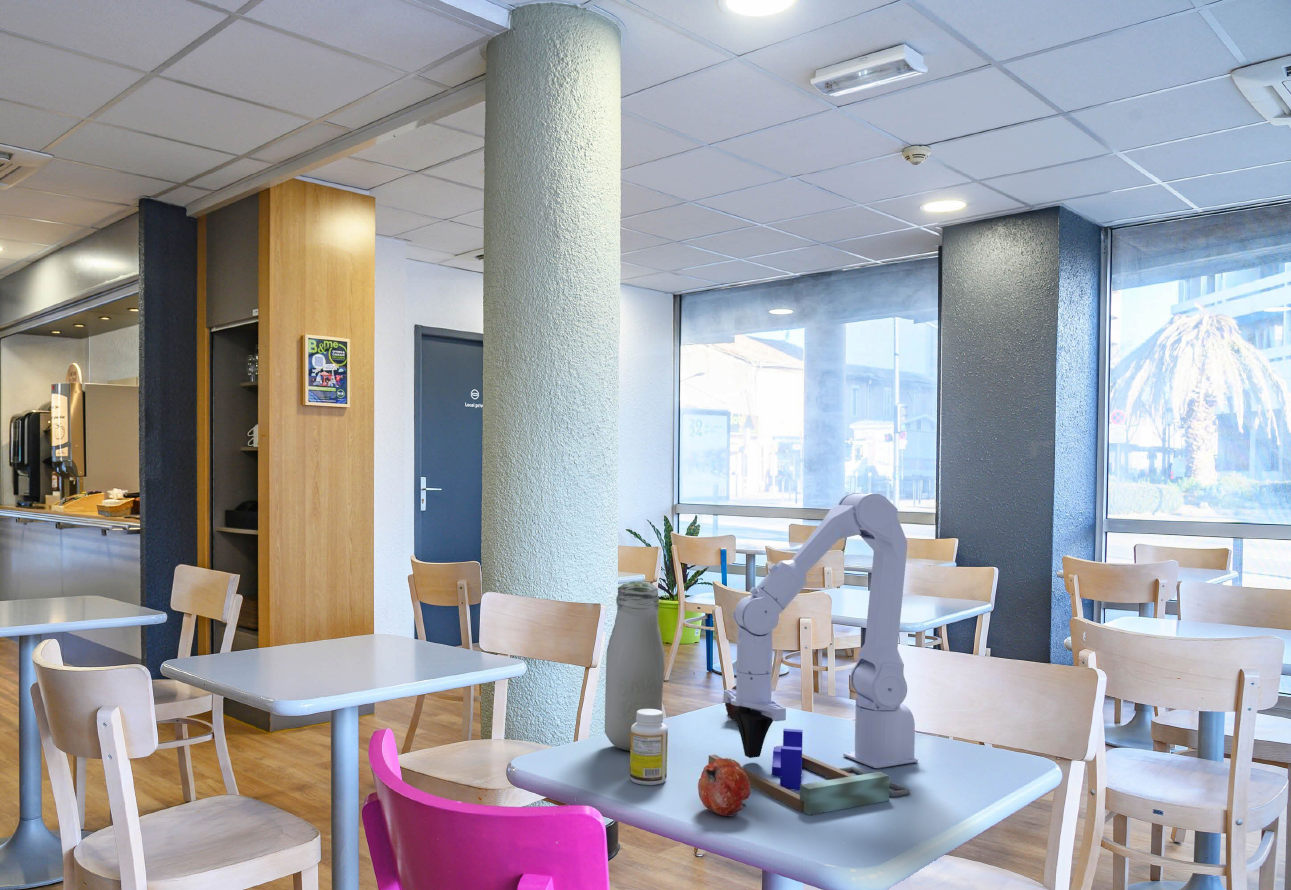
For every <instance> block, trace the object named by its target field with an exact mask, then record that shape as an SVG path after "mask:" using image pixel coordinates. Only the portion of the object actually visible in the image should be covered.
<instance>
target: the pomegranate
mask: <svg viewBox="0 0 1291 890" xmlns="http://www.w3.org/2000/svg"><path fill="white" fill-rule="evenodd" d="M722 758H723V757H722ZM697 792H698V797H699V800H700V801H701V802H702V804H703V806H704V807H705V808H706V809H707V810H709V811H711V812H714V813H715V814H718V815H721V816H724V817H732V816H734V815H736V814H737V813H739V812H740V811H741V810H742V808H743V807H744V806H745V807H746V805H747V804H746V803H744V802H743V801H747V800H748V799H749V797H750V794H751V786H750V783H749V779H748V776H747V775H746V773H745V771H744V770H743V767H742V766H741V764H740V763H739V762H738V761H736V760H735V759H732V758H728V757H726V758H725V757H724V758H723V759H717V760H715V762H714V763H712V764H706V765H705V766H704V767H703V770H702V771H701V775H700V778H699V779H698V783H697Z"/></svg>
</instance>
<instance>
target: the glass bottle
mask: <svg viewBox="0 0 1291 890" xmlns="http://www.w3.org/2000/svg"><path fill="white" fill-rule="evenodd" d="M615 600H616V601H615V603H616V606H617V610H616V615H615V619H614V625H613V628H612V630H611V633H610V634H611V635H610V636H609V640H608V644H607V648H606V657H605V658H606V659H605V662H606V663H605V695H604V697H605V698H604V699H605V700H604V733H605V735H606V737H607V739H608V741H609V742H610V743H611V744H612V745H613V746H614V747H616V748H617V749H621V750H623V751H631V726H632V725H633V724H634V723H636V720H637V719H636V715H637V711H638V710H641V709H656V710H660V711H662V712H663V693H664V692H663V691H664V690H663V689H664V676H665V659H666V658H665V651H664V644H663V640H662V635H661V628H660V626H659V618H658V617H659V614H658V611H659V604H660V603H659V601H660V597H659V588H657V587H656V585H655V584H653V583H651V582H650V581H638V580H637V581H636V580H634V581H628V582H624V583H622V584H621V585H620V586H618V587H617V595H616V598H615Z"/></svg>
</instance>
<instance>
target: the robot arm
mask: <svg viewBox="0 0 1291 890" xmlns="http://www.w3.org/2000/svg"><path fill="white" fill-rule="evenodd" d="M855 536H859V537H861V539H862V540H864V542H865V543H866V544H867V545H868V546H869V547H870V548H871V549H872V551H873V556H872V566H871V567H872V568H871V574H870V575H871V577H870V588H869V594H868V595H869V596H868V607H867V609H868V610H867V616H866V618H867V619H866V627H865V639H864V643H863V645H862V647H861V648H860V649H859V650H858V653H857V658H856V663H855V664H854V666H853V668H852V670H851V672H850V676H849V677H850V679H849V681H850V685H851V686H850V687H851V688H852V690H853V691H854V692H855V693H856V698H855V711H854V712H855V713H854V714H855V715H854V716H855V717H854V718H855V719H854V720H855V723H854V727H855V728H854V751H853V750H852V751H847V752H843V754H842V755H843V757H845V758H848V759H850V760H853V761H856V762H858V763H861V764H864V765H866V766H869V767H872V768H874V769H881V768H887V767H894V766H899V765H906V764H913V763H918V762H919V759H918V758H917V757H915V737H916V736H915V735H916V734H915V733H916V732H915V731H916V729H915V728H916V727H915V726H916V725H915V724H916V723H915V717H914V715H913V712H912V711H911V709H910V708H909V707H908V706H907V705H906V704H903V702H904V700H906V698H907V694H908V685H907V681H906V679H905V674H904V668H905V666H904V665H905V664H904V661H903V659H902V657H901V655H900V652H899V649H898V647H899V636H900V627H901V615H902V607H903V605H902V604H903V596H904V595H903V594H904V586H905V585H904V584H905V574H906V573H905V572H906V566H907V565H906V564H907V552H908V540H907V538H906V535H905V532H904V530H903V528H902V525H901V522H900V520H899V518H898V508H897V506H895V505H894V504H893V503H892V502H891V501H890V500H889V499H888V498H887V497H886V496H884V494H881V493H876V492H872V493H858V492H851V493H848V494H845V495H844V496H843V497H842V498H841V499H840V500H839V501H838V503H837V504H835V505H834V506H833V507H832V508H830V510H829V511H828V512H827V514H826V515H825V517H824V518H823V519H822V521H821V522H820V523H819V525H818V526H817V527H816V528H815V529H814V530H813V532H812V533H811V534H810V535H809V537H807V539H806V540H805V542H804V543H803V544H802V545H801V547H800V548H799V549H798V550H797V551H796V553H795V554H794V555H793V557H792V558H790V559H789V560H787V559H786V560H779V561H778V562H777V564H775V563H772V564H770V565H769V567H768V568H767V569H768V571H769V572H768V574H766V576H765V577H764V578H763V579H762V580H761V581H760V583H759V584H757V586H756V587H754V586H752V587H751V588H750V589H749V593H750V594H751V595H748V596H745V597H743V598H742V599H740V600H739V601H738V602H737V603H736V606H735V610H734V611H732V615H733V621H734V622H735V624H736V625H737V642H736V679H735V680H736V684H735V686H736V690H734V689H732V688H731V689H724V690H723V702H724V703H725V702H726V703H731V704H732V705H735V706H740V709H739V710H737V711H733V712H732V716H733V718H734V720H735V721H734V720H733V721H734V722H735V724H736V727H737V729H738V731H739V735H740V738H741V742H742V743H741V744H742V749H743V752H744V756H745V757H747V758H749V759H752V758H753V759H754V758H759V757H761V753H762V749H763V745H764V742H765V739H766V736H767V733H768V731H769V729H770V726H772V724H773V722H781V721H783V722H784V721H786V719H787V708H786V707H784V706H782V705H780V704H779V703H778V702H777V701H775V700H774V699H773V696H772V693H773V692H772V690H773V688H772V686H773V685H772V684H773V683H772V682H773V630H774V629H776V628H777V626H778V624H779V620H780V614H782V612H784V611H785V609H786V608H787V607H788V606H789V605H790V603H792V602H793V600H794V599H795V598H796V597H797V596H798V594H799V593H801V591H802V590H803V589H804V588H805V586H806V585H807V574H808V572H809V571H810V570H811V569H812V568H813V567H814V566H815V565H816V564H817V563H818V562H819V561H820V560H822V558H823V557H824V556H825V555H827V553H828V552H829V551H830V550H831V549H832V547H834V546H835V544H836V543H838V541H840V540H841V539H846V538H847V539H848V538H850V537H855Z"/></svg>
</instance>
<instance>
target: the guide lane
mask: <svg viewBox="0 0 1291 890" xmlns="http://www.w3.org/2000/svg"><path fill="white" fill-rule="evenodd" d="M781 746H782V745H777V746H775V747H781ZM717 759H723V757H721V756H719V755H717V754H710V755H708V760H707V761H708V764H712V763H714V762H715V760H717ZM708 764H707V765H708ZM742 768H743V767H742ZM802 768H804V769H806V768H807V770H809V769H810V770H809V771H811V772H813V773H815V772H816V773H815V774H818V775H821V776H822V775H823V777H825V778H827V780H820V781H814V782H809V783H803V784H802V783H801V785H800V790H799V794H798V793H797V792H794V791H793V790H789V789H786V788H784V787H782V786H780V784H778V783H775V782H773V781H772V780H769V779H767V778H765V777H763V776H761V775H759V774H757V773H754V772H753V771H750V770H749V769H747V768H743V770H744V771H745V773H746V775H747V776H748V779H749V783H750V787H751V786H752V787H751V788H753V789H755V788H756V789H755V790H757V789H758V791H759V790H760V792H761V793H763V792H764V793H763V794H765V793H766V794H765V795H767V794H768V795H767V796H769V795H770V797H771V796H772V798H773V797H774V799H775V798H776V800H777V801H779V800H780V802H781V801H782V802H781V803H783V802H784V803H783V804H785V805H787V804H788V805H787V806H789V807H791V806H792V807H791V808H794V809H795V808H796V809H795V810H797V809H798V810H797V811H799V810H800V812H801V813H803V812H804V813H803V814H805V813H806V815H808V816H812V815H817V814H818V813H819V814H824V813H831V812H834V811H838V810H839V811H841V810H847V809H850V808H856V807H861V806H866V805H867V806H868V805H871V804H872V805H873V804H877V803H883V802H887V801H888V802H889V801H890V796H889V790H890V787H889V781H890V775H888V774H886V773H884V772H881V771H875V772H871V773H870V772H868V773H869V774H863V775H860V774H858V775H854V774H852V773H850V772H845V771H842V770H840V768H837V767H835V766H832V765H830V764H828V763H826V762H822V761H820V760H819V759H815V758H813V757H810V756H808V755H806V754H804V753H802ZM823 812H824V813H823ZM811 814H812V815H811Z"/></svg>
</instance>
